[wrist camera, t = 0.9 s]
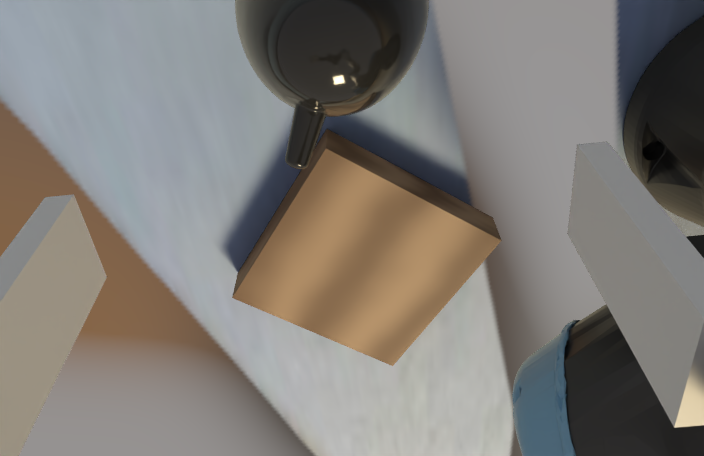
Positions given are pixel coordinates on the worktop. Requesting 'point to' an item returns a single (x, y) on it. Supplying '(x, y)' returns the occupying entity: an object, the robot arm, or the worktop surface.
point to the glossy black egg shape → (329, 56)
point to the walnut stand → (363, 251)
